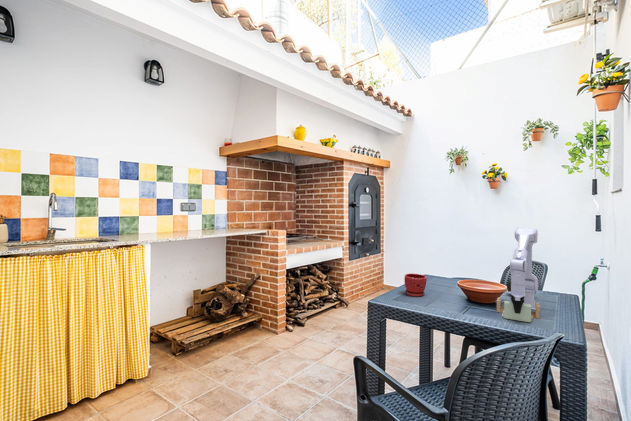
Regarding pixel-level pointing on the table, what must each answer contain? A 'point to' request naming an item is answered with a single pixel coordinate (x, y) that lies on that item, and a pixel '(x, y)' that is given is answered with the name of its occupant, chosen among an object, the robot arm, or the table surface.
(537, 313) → the oak rack
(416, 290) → the plant pot
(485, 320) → the table surface
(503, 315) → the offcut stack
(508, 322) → the table surface
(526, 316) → the green sheet
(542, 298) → the table surface
